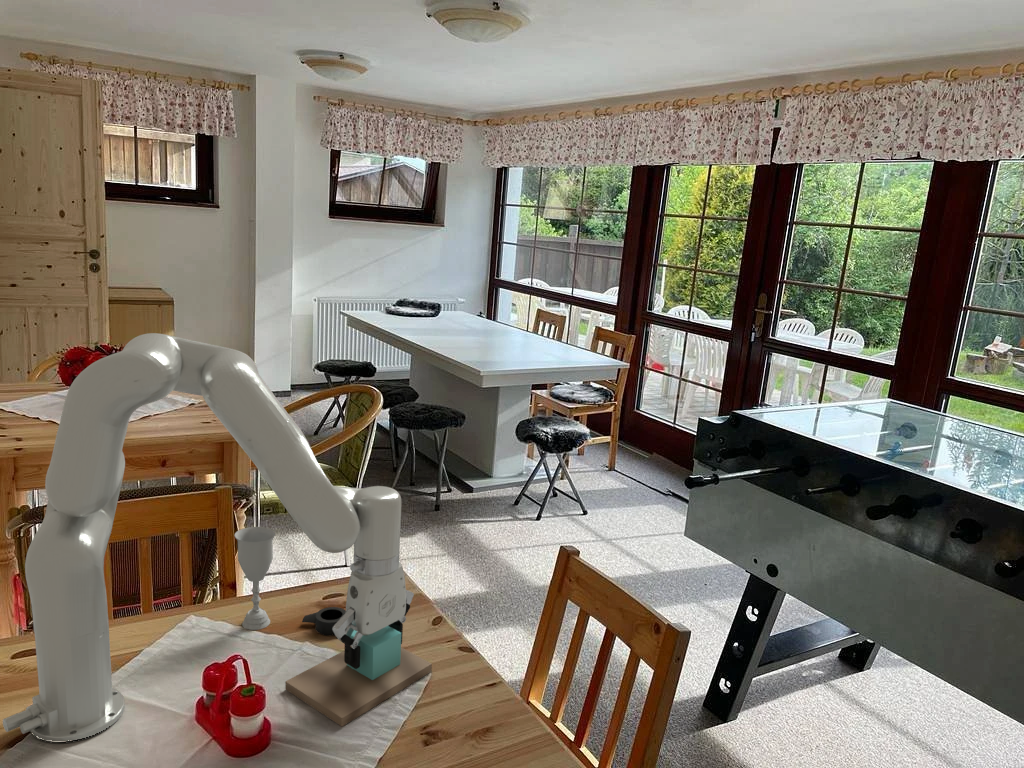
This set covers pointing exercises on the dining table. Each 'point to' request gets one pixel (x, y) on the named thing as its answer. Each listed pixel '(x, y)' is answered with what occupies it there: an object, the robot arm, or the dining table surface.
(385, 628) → the turquoise rounded cube
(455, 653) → the dining table surface
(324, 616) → the dark grey ring piece
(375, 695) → the stub board
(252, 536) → the chalice
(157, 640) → the dining table surface
